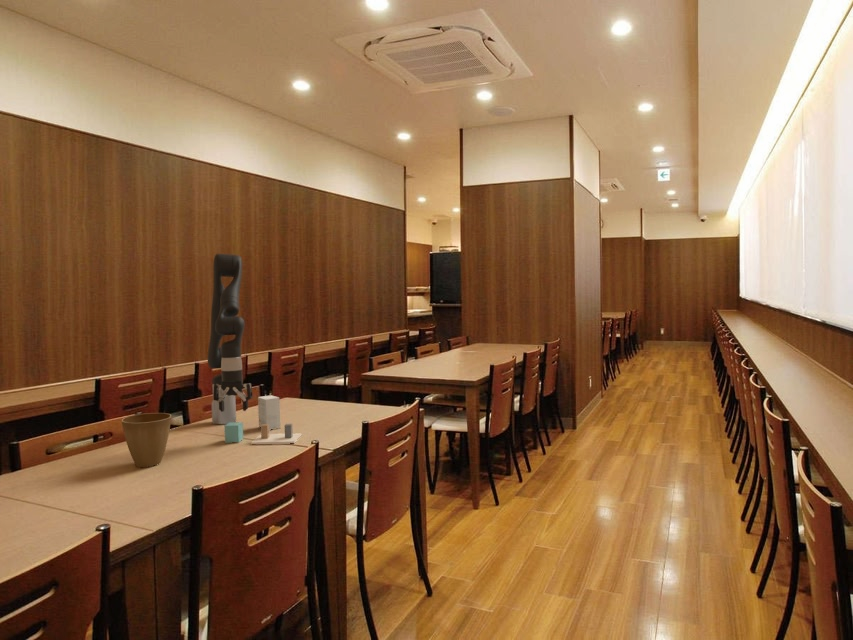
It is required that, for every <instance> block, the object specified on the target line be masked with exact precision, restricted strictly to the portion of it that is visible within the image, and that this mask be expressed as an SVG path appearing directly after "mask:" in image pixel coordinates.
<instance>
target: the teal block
mask: <svg viewBox="0 0 853 640" xmlns="http://www.w3.org/2000/svg"><path fill="white" fill-rule="evenodd" d="M243 423H244V422H242V421H241V422H240V421H239V422H238V421H237V422H232V423H228V424H224V443H225V444H233V443H232V442H239V443H240V442H242V441H243V440H244V424H243ZM242 439H243V440H242ZM241 440H242V441H241Z"/></svg>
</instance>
